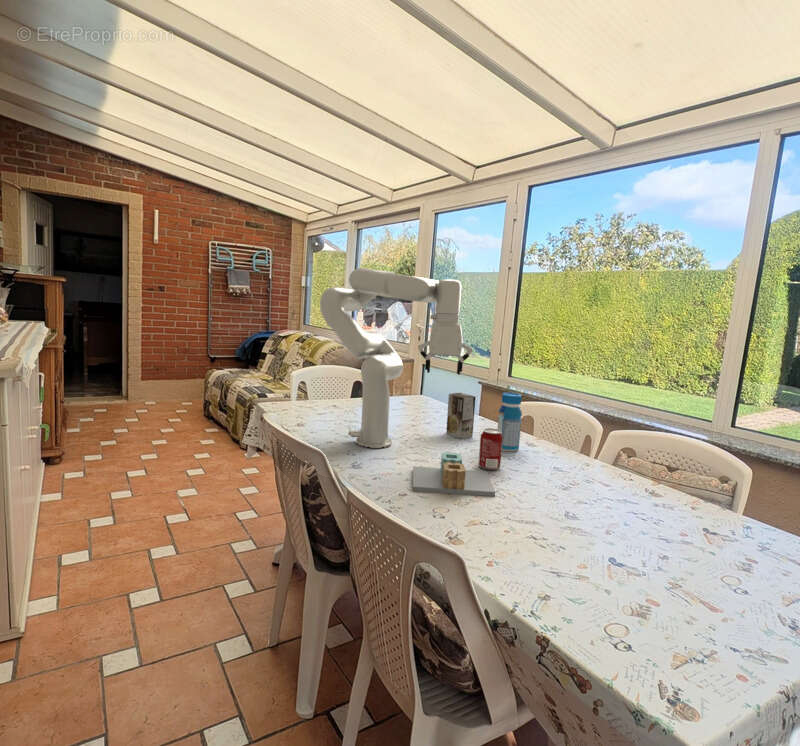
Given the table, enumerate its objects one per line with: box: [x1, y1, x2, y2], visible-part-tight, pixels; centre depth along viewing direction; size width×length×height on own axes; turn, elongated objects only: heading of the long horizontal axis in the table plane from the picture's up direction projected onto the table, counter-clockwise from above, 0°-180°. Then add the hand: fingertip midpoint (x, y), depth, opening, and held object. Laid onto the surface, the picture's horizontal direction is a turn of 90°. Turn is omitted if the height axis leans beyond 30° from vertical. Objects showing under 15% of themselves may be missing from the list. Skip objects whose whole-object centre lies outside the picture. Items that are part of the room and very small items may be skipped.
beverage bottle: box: [496, 392, 523, 452], centre depth 168 cm, size 8×8×20 cm
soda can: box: [477, 427, 503, 471], centre depth 148 cm, size 7×7×12 cm
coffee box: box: [445, 392, 476, 440], centre depth 183 cm, size 9×6×16 cm
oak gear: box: [442, 462, 466, 490], centre depth 129 cm, size 6×7×5 cm
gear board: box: [412, 451, 496, 497], centre depth 133 cm, size 22×16×6 cm
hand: (443, 373), depth 151 cm, fingers open, 9 cm apart
